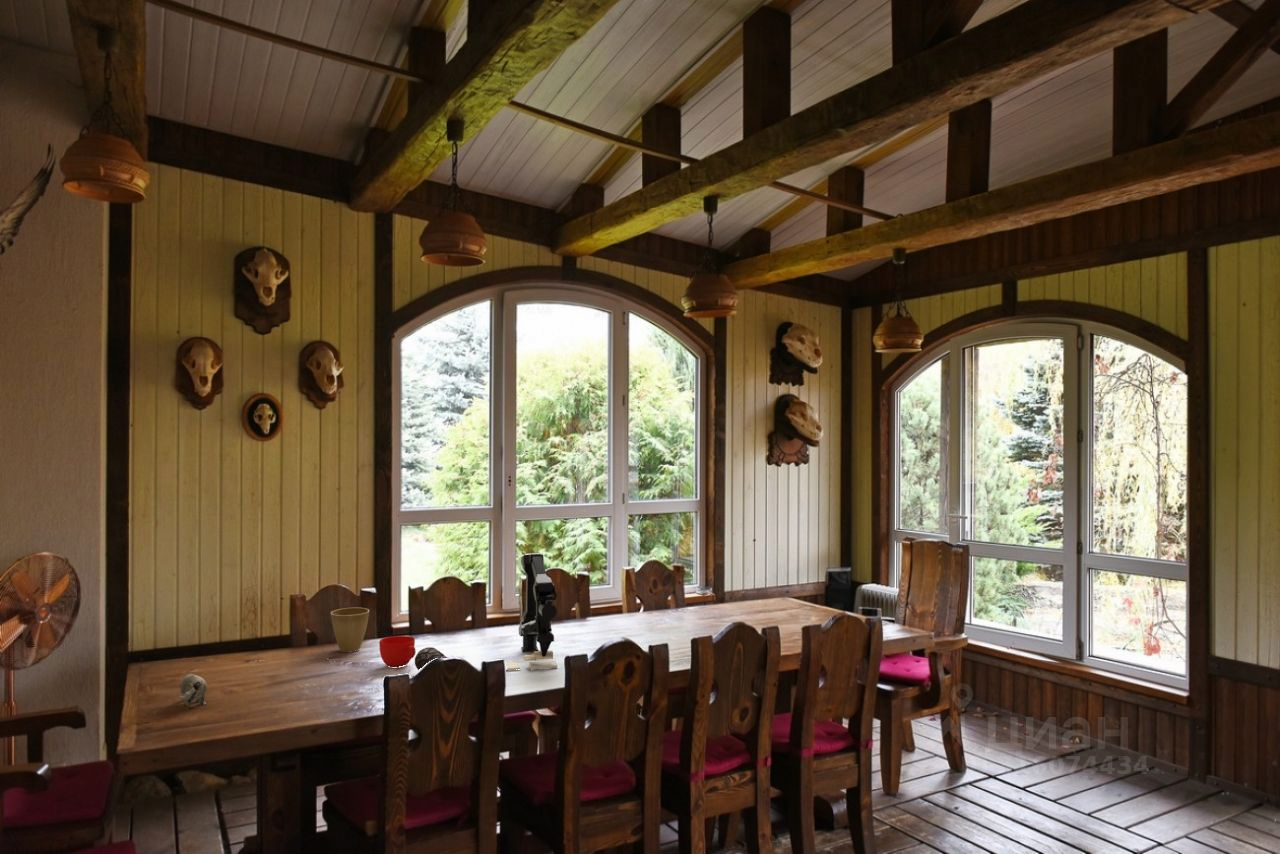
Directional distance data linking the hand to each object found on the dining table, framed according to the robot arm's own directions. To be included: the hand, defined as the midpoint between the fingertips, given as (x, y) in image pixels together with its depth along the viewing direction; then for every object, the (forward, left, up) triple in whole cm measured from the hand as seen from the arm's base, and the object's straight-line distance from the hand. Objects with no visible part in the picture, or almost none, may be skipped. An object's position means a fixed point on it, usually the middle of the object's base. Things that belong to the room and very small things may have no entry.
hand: (543, 655), depth 313 cm
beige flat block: (0, -2, -1) cm, 2 cm away
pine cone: (+6, -40, -4) cm, 40 cm away
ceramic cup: (-10, -53, -4) cm, 54 cm away
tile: (-4, -13, -4) cm, 14 cm away
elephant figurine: (+25, -115, -4) cm, 117 cm away
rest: (0, 0, -4) cm, 4 cm away
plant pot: (-40, -75, -4) cm, 85 cm away
